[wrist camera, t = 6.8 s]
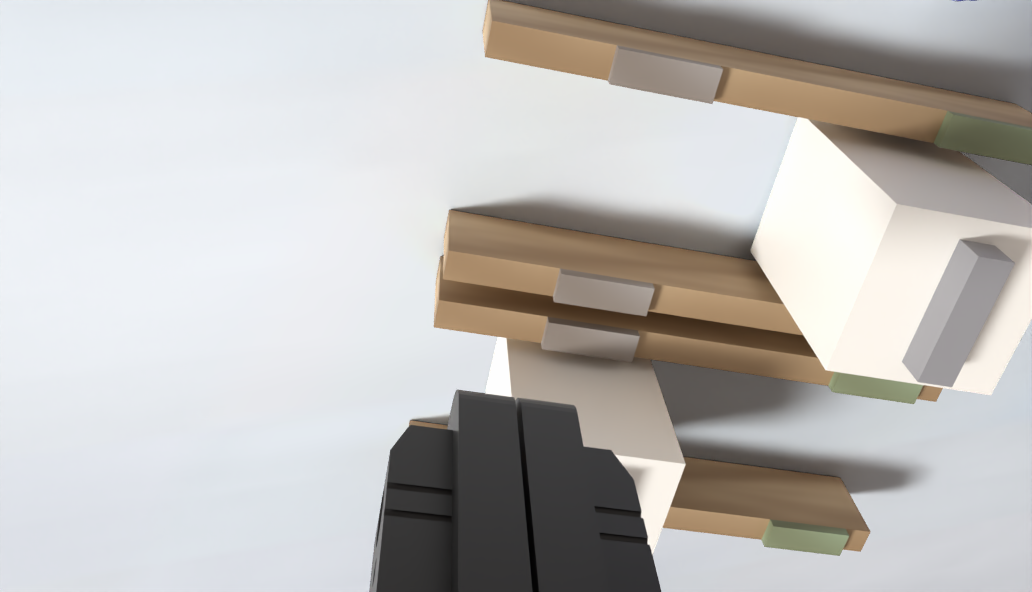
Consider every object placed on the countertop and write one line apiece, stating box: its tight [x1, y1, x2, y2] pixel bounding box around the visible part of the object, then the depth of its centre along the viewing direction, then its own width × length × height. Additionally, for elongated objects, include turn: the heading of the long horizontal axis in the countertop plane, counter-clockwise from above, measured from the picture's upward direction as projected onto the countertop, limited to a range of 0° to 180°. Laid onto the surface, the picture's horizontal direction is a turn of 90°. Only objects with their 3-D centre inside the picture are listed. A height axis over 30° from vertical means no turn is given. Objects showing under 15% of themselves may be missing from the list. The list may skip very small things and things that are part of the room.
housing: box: [409, 256, 943, 556], centre depth 27 cm, size 6×14×3 cm, turn 78°
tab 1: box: [485, 337, 686, 555], centre depth 24 cm, size 4×4×7 cm
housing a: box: [443, 0, 1032, 335], centre depth 24 cm, size 6×14×3 cm, turn 78°
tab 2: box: [750, 117, 1032, 395], centre depth 22 cm, size 4×4×7 cm
